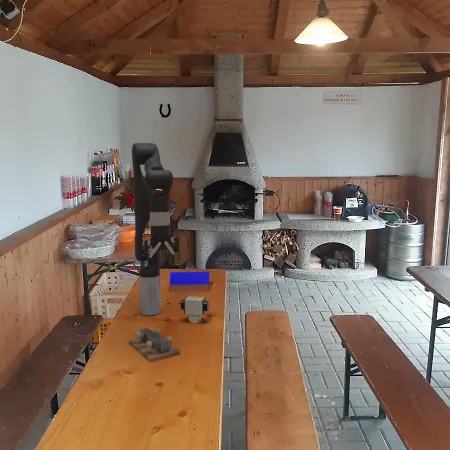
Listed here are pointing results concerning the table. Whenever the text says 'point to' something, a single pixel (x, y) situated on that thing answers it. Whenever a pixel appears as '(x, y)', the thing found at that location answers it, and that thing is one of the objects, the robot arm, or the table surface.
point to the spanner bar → (155, 340)
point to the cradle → (149, 351)
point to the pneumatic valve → (195, 307)
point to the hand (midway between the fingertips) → (161, 265)
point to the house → (189, 281)
